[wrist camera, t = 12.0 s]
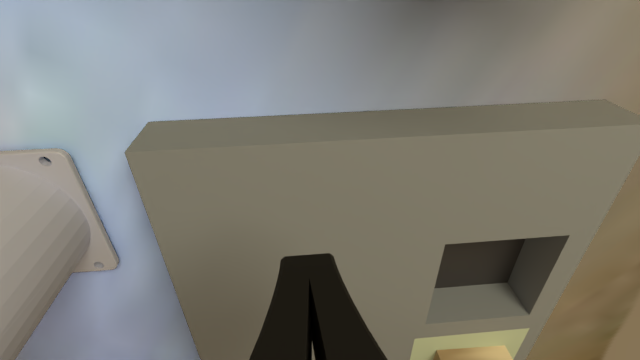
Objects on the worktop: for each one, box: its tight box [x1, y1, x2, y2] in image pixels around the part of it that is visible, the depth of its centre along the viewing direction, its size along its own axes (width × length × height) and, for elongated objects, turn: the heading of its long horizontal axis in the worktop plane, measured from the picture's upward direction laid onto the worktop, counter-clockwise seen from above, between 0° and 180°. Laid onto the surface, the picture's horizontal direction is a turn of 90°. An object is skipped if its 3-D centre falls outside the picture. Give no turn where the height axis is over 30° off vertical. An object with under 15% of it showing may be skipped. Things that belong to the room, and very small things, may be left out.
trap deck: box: [125, 100, 640, 360], centre depth 25 cm, size 23×32×3 cm
